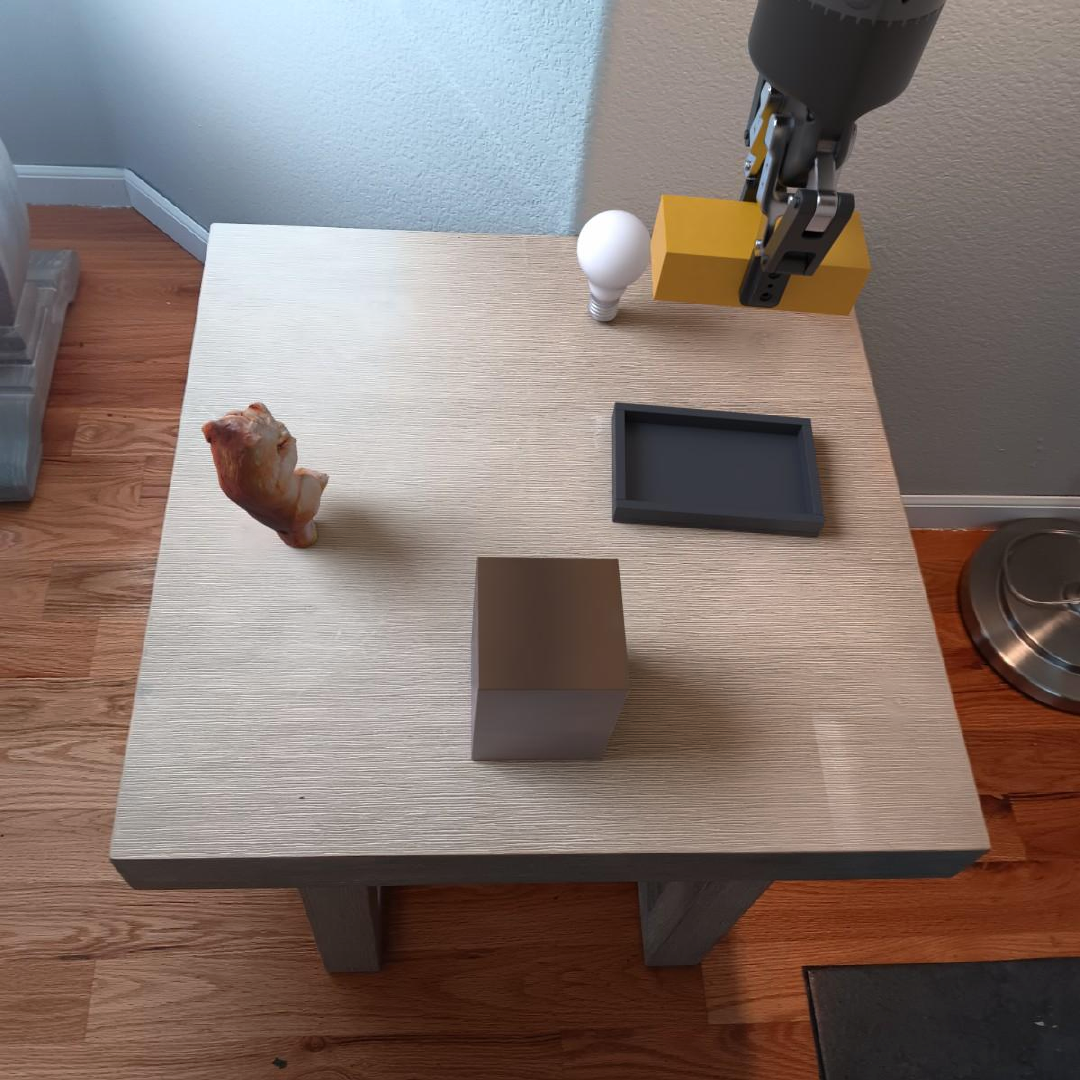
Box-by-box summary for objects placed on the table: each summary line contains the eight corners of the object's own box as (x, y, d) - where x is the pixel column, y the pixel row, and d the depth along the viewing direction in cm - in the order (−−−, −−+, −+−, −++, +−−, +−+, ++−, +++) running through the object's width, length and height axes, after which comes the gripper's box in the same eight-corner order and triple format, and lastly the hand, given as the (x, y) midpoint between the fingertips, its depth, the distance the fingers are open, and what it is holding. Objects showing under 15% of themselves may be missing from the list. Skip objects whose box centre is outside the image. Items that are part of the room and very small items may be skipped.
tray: (817, 537, 81) (825, 523, 79) (611, 522, 80) (615, 507, 78) (802, 433, 86) (810, 418, 85) (611, 417, 86) (615, 401, 84)
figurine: (339, 499, 79) (321, 371, 66) (309, 582, 75) (283, 461, 62) (263, 483, 79) (229, 352, 66) (229, 565, 75) (186, 441, 62)
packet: (837, 259, 58) (859, 211, 55) (848, 316, 56) (872, 269, 53) (650, 243, 58) (662, 193, 55) (653, 300, 55) (665, 251, 52)
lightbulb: (592, 351, 89) (611, 256, 80) (553, 305, 92) (566, 208, 83) (649, 326, 92) (673, 230, 82) (609, 281, 94) (628, 184, 85)
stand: (593, 642, 74) (618, 558, 64) (602, 759, 69) (630, 689, 59) (471, 641, 73) (476, 556, 63) (471, 760, 69) (477, 689, 58)
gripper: (988, 74, 38) (834, 372, 53) (921, -118, 46) (803, 189, 60) (794, 55, 38) (693, 361, 52) (759, -136, 45) (679, 178, 60)
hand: (752, 267), depth 56 cm, fingers closed on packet, 4 cm apart
